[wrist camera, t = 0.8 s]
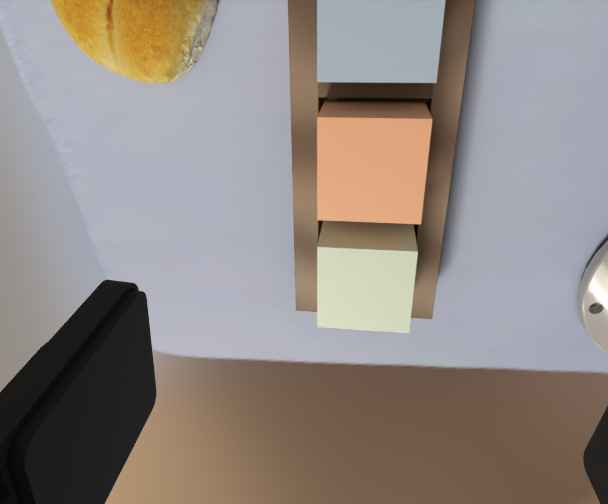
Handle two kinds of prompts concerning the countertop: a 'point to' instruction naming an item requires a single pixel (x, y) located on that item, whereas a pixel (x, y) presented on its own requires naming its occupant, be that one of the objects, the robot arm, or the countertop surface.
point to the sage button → (366, 275)
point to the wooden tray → (437, 97)
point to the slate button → (379, 40)
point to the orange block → (372, 161)
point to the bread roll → (140, 34)
